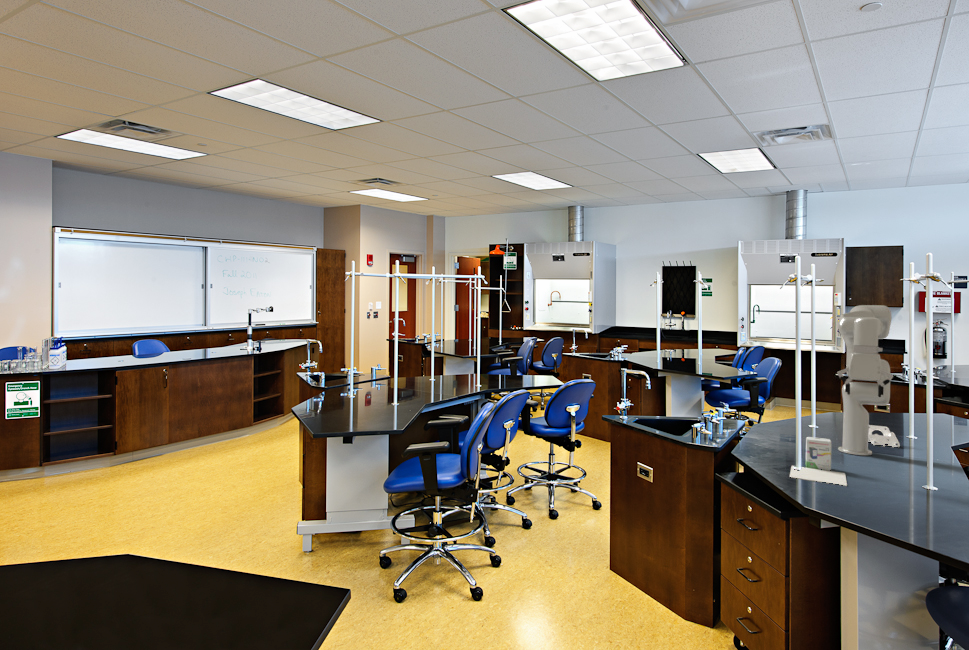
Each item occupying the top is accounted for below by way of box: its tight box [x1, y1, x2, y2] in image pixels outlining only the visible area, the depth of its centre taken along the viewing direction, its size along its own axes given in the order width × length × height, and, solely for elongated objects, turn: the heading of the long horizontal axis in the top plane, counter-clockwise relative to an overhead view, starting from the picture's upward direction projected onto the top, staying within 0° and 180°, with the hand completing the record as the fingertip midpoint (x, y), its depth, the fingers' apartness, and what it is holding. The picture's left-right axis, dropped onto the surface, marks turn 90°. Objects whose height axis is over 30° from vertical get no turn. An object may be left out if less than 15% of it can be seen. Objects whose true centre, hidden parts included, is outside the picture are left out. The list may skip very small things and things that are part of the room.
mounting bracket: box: [868, 424, 901, 448], centre depth 257 cm, size 12×6×11 cm, turn 63°
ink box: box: [805, 436, 832, 471], centre depth 215 cm, size 9×5×12 cm, turn 62°
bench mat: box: [789, 465, 848, 487], centre depth 205 cm, size 18×18×1 cm
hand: (863, 395), depth 203 cm, fingers open, 9 cm apart
